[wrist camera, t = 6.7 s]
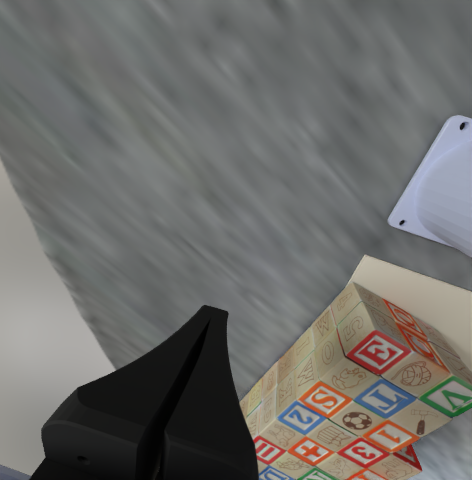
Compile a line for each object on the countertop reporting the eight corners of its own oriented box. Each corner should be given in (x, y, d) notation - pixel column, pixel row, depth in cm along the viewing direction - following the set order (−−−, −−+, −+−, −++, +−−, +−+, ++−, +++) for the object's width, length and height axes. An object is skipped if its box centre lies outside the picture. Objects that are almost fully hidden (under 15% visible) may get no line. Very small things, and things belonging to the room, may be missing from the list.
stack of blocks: (374, 328, 16) (533, 417, 16) (350, 278, 21) (467, 345, 22) (226, 465, 24) (331, 521, 25) (237, 403, 30) (322, 450, 31)
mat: (530, 311, 20) (532, 313, 20) (368, 467, 31) (369, 469, 30) (364, 254, 21) (365, 255, 20) (262, 426, 31) (262, 427, 31)
